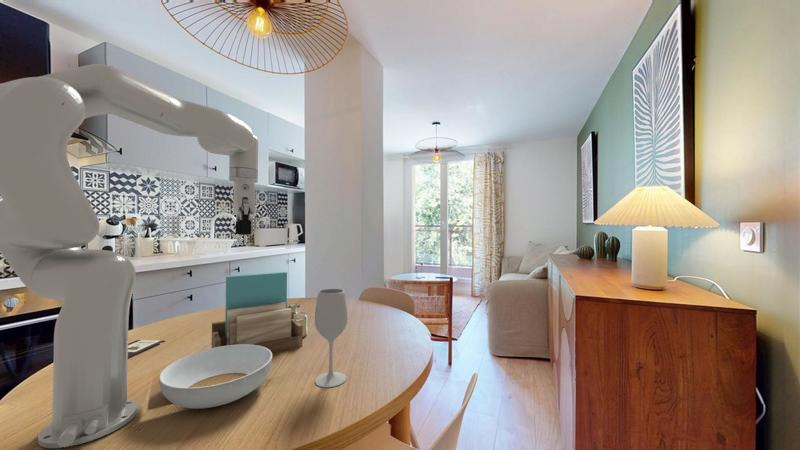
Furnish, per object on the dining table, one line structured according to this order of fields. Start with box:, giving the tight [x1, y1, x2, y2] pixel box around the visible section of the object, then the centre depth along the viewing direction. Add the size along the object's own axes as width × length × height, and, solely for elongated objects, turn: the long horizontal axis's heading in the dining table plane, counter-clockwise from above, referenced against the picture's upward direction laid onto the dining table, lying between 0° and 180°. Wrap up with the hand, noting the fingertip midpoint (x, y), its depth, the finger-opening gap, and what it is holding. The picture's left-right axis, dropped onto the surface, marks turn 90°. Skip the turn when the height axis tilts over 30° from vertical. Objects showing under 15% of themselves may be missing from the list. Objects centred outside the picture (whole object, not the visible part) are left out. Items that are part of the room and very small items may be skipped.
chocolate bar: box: [128, 339, 166, 360], centre depth 87 cm, size 9×1×18 cm
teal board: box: [224, 271, 288, 337], centre depth 89 cm, size 2×16×21 cm, turn 126°
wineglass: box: [314, 288, 348, 389], centre depth 73 cm, size 8×8×21 cm
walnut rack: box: [211, 310, 303, 354], centre depth 87 cm, size 10×22×10 cm, turn 126°
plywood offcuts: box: [227, 302, 292, 345], centre depth 85 cm, size 3×16×12 cm, turn 126°
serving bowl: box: [158, 344, 273, 410], centre depth 66 cm, size 21×21×7 cm
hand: (243, 234), depth 90 cm, fingers open, 9 cm apart
